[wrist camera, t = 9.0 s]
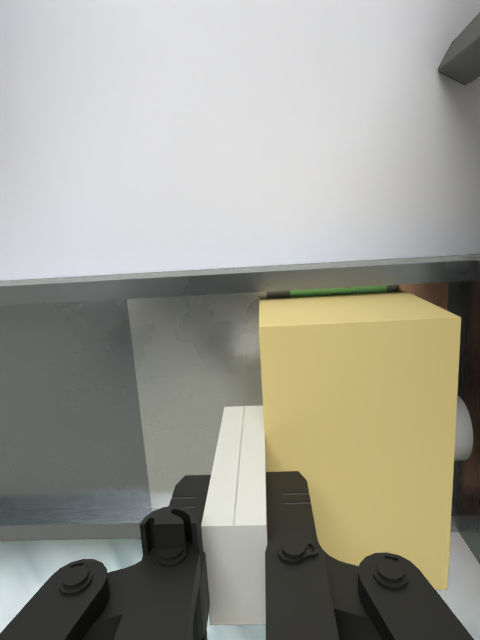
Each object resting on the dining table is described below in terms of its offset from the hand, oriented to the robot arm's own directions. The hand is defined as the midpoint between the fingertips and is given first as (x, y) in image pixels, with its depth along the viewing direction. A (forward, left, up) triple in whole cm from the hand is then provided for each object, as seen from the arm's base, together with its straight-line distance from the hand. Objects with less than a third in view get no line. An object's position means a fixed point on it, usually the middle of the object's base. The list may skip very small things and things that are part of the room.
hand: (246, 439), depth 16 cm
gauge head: (+4, -1, -3) cm, 5 cm away
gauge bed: (-1, 0, -4) cm, 5 cm away
